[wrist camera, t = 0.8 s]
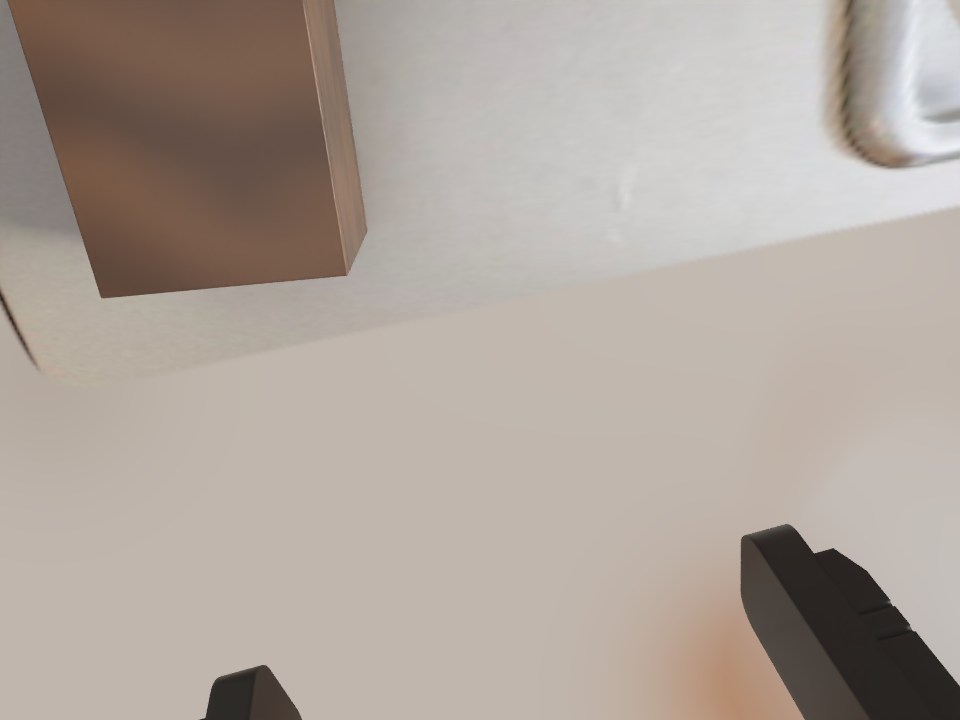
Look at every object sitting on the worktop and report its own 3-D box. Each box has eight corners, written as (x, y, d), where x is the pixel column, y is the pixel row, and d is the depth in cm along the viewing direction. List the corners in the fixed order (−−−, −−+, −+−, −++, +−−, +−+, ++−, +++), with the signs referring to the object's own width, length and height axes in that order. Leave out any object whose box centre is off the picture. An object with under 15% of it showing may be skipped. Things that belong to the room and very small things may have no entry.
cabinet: (103, -27, 29) (-14, -64, 22) (327, -45, 29) (289, -88, 22) (175, 249, 34) (100, 299, 26) (367, 231, 34) (348, 275, 27)
